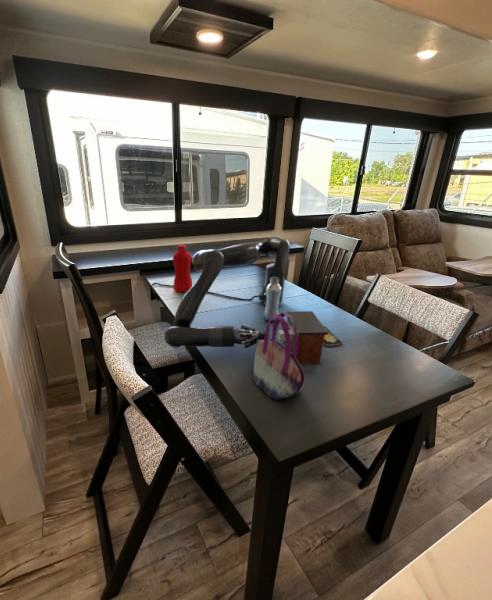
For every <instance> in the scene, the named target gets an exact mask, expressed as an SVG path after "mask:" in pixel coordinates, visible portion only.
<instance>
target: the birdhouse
mask: <svg viewBox="0 0 492 600" xmlns="http://www.w3.org/2000/svg"><path fill="white" fill-rule="evenodd" d="M285 314H289V315H290V316H292V318H293V319H291V318H290V317H289V316H287V315H286V319H285V321H286V323H287V326H288V329H289V330H291V331H292V332H293V338H292V341H291V350H290V352H291V353H292V354H293V351H294V341H295V326H296V329H297V336H298V353H297V360H298V362H299V364H300V365H308V364H309V365H312V364H314V365H315V364H316V365H318V364H320V363H321V359H322V353H323V348H324V343H323V342H324V336H325V334H328V331H327V330H326V329H325V327H326V326H325V325H324V324H323V323H322V322H321V321H320V319H319V318H318V317H317V315H316V314H315V313H314V312H313V311H310V310H308V311H307V310H306V311H305V310H304V311H303V310H302V311H299V310H297V311H286V312H285ZM293 320H294V321H293ZM294 323H295V326H294ZM324 326H325V327H324ZM284 343H285V345H286V341H284Z"/></svg>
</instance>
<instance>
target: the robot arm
mask: <svg viewBox="0 0 492 600" xmlns="http://www.w3.org/2000/svg"><path fill="white" fill-rule="evenodd" d="M290 246H291V245H290V242H289V241H288V240H287V239H283V238H279V237H275V236H274V237H269V238H268V237H267V238H265V239H262V240H259V241H251V242H244V243H238V244H234V245H230V246H227V247H223V248H220V249H219V248H218V249H201V250H199V251H197V252H196V253H195V254H193V256H192V259H193V260H191V265H192V267H193V269H194V270H195V271H197V272H198V273H200V275H199V277H198V279H197V280H196V281H195V282H194V284H192V287H191V288H190V290H189V291H188V292H185V294H184V295H183V297H182V299H181V301H180V303H179V305H178V307H177V309H176V311H175V314H174V320H173V322H172V324H171V327H169V328H167V329H166V330H165V332H164V341H165V342H166V344H167V345H168V346H170V347H171V348H175V349H177V348H180V347H189V346H193V347H198V348H199V347H201V348H202V347H205V348H206V347H210V348H211V347H212V348H233V347H235V345H236V344H237V345H243V347H244V349H248V348H251V347H252V346H254V345H257V344H258V341H261V340H263V339H265V333H266V331H263V332H260V331H259V332H258V331H257V330H256V329H255V328H253V327H250V326H246V325H243V324H242V325H240V328H235V327H234V326H233V325H215V326H213V325H212V326H196V327H191V325H192V324H193V323H194V320H195V318H196V316H197V314H198V311H199V309H200V306H201V304H202V303H203V300H204V298H205V297H206V295H207V294H210V295H214V296H220V297H224V298H227V299H234V300H240V301H249V302H250V301H253V300H254V299H255V298H258V300H259V301H261V304H263V305H264V306H266V301H267V300H266V299H267V295H266V288H267V286H268V285H269V284H270V283H271V282H270V278H271V277H278V278H279V283H278V284H279V285H280V287H281V294H280V298H279V303H278V308H280V307H282V305H283V299H284V298H283V297H284V288H285V279H286V271H287V267H288V263H289V256H290V250H291V249H290V248H291V247H290ZM261 257H269V258H274V262H273V263H269V264H266V267H265V279H264V285H263V286H262V291H261V292H260V294H258V295H253V296H252V297H251V298H241V297H237V296H236V297H235V296H230V295H225V294H222V293H217V292H212V291H210V288H211V287H212V285H213V284H214V283H215V280H216V279H217V278H218V276H219V275H220V273H221V271H222V269H223V268H225V267H226V268H227V267H229V268H230V267H241V266H247V265H251V264H254V263H256V262H257V261H258V260H259V258H261ZM151 285H152V286H154V285H158V286H161V287H170V288H174V284H173V285H172V284H163V283H159V282H153V283H152V284H151ZM268 337H269V334H268Z"/></svg>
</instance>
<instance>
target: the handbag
mask: <svg viewBox="0 0 492 600" xmlns="http://www.w3.org/2000/svg"><path fill="white" fill-rule="evenodd" d="M285 316H286V317H287V316H289V317H290V318H291V319H293V318H292V316H290V315H289V314H286V312H285V313H284V312H279V315H273V316H272V317H271V318H270V319H269V321H268V320H267V324H266V328H265V332H266V333H265V339H263V340H259V342H257V346H256V349H255V353H254V361H253V380H254V383H255V384H256V385H257V386H258V387H259V388H260V389H261V390H262V391H264V393H265V394H267V396H268V397H270V398H271V399H272V400H275V401H280V400H283V399H284V400H285V399H288V398H290V397H294V396H296V395H298V394H299V393H301V391H302V390H303V388H304V386H305V379H306V377H305V373H304V370H303V367H302V364H299V362H298V360H297V353H298V336H297V329H296V326H295V323H294V326H295V341H294V351H293V354H292V353H291V352H290V350H291V339H290V334H289V329H288V326H287V323H286V319H285V318H284V317H285ZM274 317H276V320H275V321H273V325H272V332H271V338H269V336H268V335H269V333H270V328H271V323H272V321H271V320H272V319H273V318H274ZM293 321H294V320H293ZM279 325H281V330H283V332H284V335H285V338H286V344H285V345H284V344H282V343H281V342H280V341H279V340H278V341H277V340H276V339H277V333H278V327H279Z"/></svg>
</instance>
